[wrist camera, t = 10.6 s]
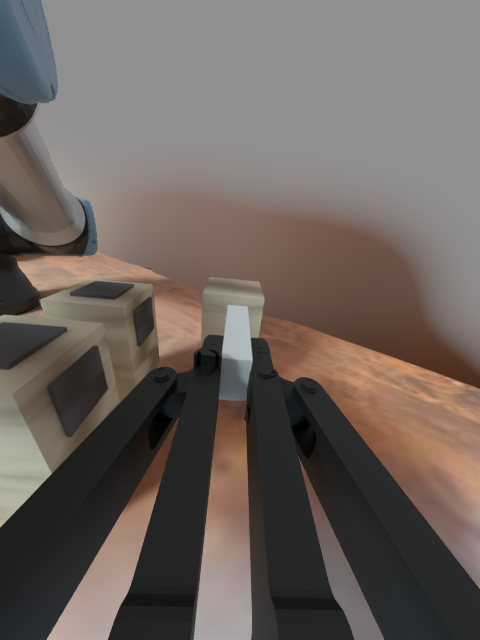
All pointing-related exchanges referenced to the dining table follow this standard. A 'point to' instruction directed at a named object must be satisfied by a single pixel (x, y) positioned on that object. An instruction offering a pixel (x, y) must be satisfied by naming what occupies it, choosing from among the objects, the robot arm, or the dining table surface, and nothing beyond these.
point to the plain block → (230, 293)
